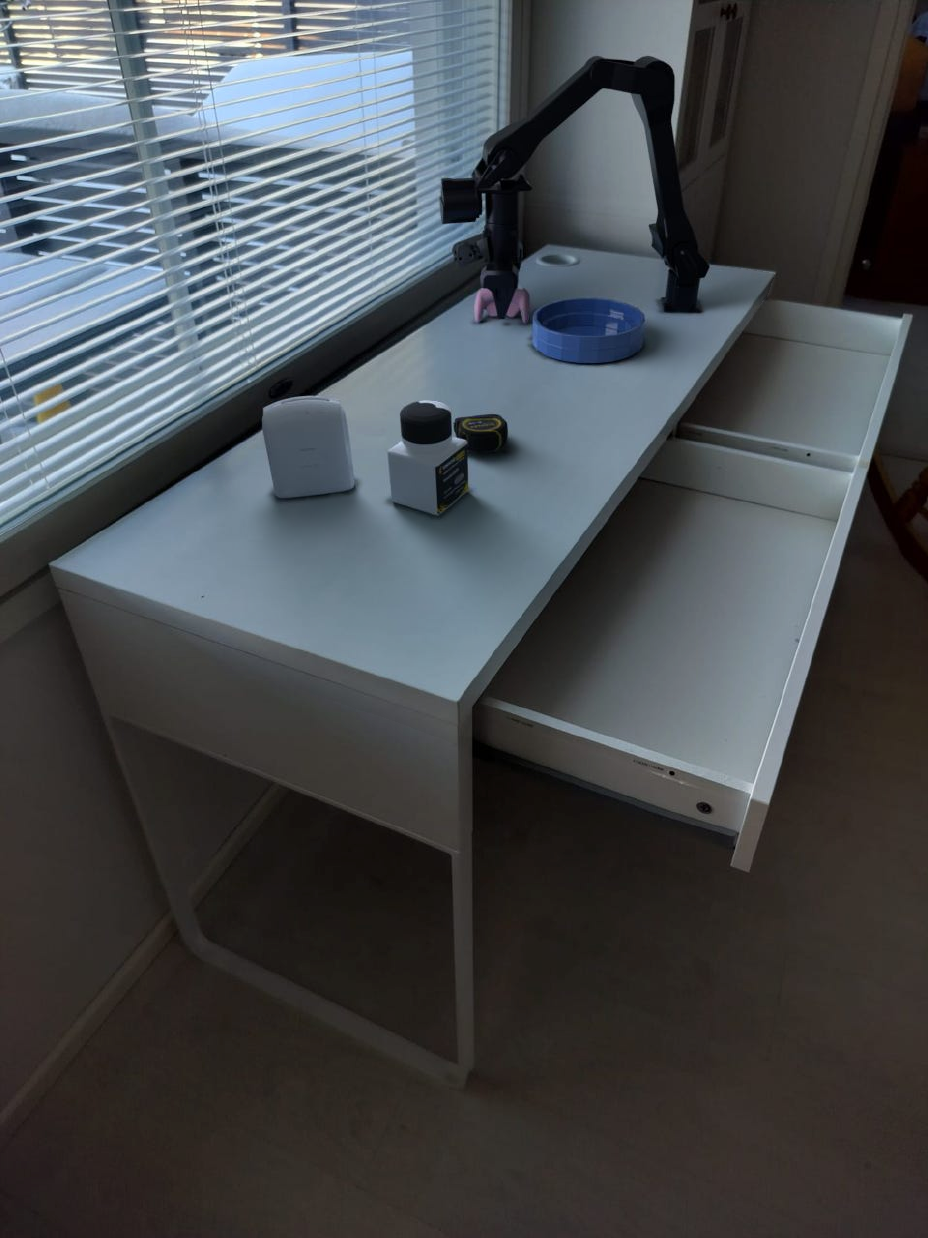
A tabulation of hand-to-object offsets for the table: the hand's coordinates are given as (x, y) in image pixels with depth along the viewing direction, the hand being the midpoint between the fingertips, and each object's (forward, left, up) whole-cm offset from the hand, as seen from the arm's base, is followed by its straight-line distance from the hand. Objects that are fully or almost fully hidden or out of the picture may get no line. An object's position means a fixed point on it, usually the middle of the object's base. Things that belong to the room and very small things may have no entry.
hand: (502, 312), depth 158 cm
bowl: (+11, +15, -1) cm, 19 cm away
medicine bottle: (+62, -5, -1) cm, 62 cm away
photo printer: (+61, -20, -1) cm, 64 cm away
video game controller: (0, 0, -1) cm, 1 cm away
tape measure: (+48, 0, -1) cm, 48 cm away
